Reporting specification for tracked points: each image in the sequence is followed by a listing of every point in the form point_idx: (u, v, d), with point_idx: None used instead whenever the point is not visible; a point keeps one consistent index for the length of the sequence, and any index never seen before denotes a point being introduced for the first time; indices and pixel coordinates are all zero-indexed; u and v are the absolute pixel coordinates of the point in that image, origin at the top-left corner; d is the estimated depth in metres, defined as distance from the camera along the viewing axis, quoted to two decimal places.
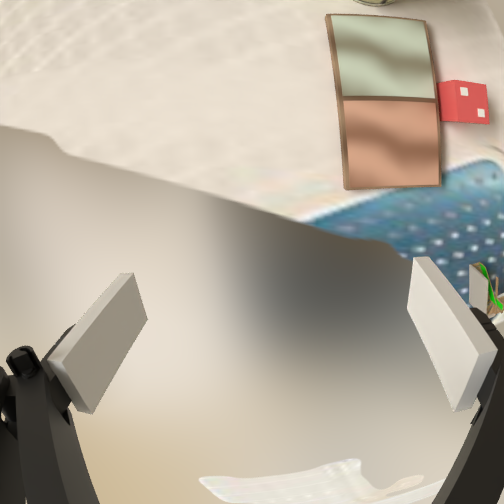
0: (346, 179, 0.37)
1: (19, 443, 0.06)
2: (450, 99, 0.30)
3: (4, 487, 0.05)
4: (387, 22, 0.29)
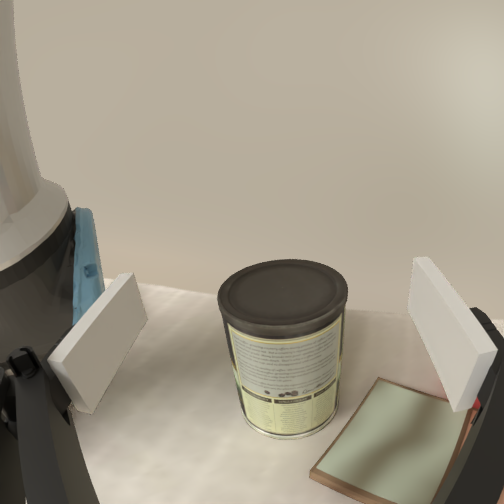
0: None
1: (19, 443, 0.06)
2: None
3: (4, 487, 0.05)
4: (362, 416, 0.26)
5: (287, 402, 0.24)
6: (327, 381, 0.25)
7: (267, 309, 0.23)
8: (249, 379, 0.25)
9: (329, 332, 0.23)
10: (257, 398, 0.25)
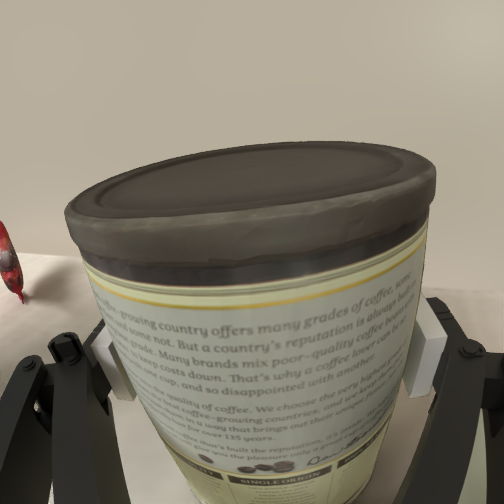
0: None
1: (53, 432, 0.06)
2: None
3: (28, 481, 0.06)
4: None
5: (264, 484, 0.08)
6: (376, 426, 0.08)
7: (185, 192, 0.07)
8: (157, 420, 0.08)
9: (405, 269, 0.06)
10: (189, 465, 0.09)
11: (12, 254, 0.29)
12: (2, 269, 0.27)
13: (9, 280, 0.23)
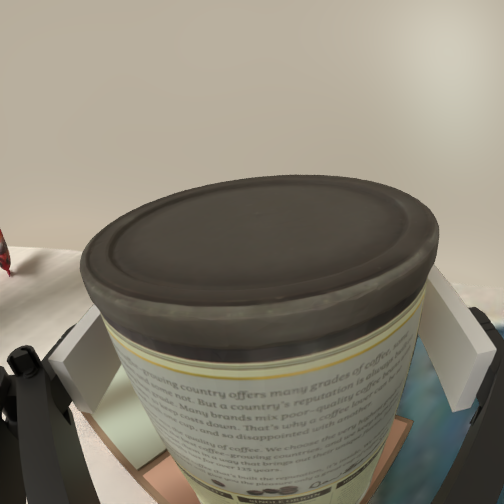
0: None
1: (20, 443, 0.06)
2: None
3: (4, 487, 0.05)
4: None
5: (270, 503, 0.08)
6: (372, 452, 0.09)
7: (199, 257, 0.07)
8: (173, 450, 0.09)
9: (403, 331, 0.06)
10: (201, 485, 0.09)
11: (3, 244, 0.46)
12: None
13: (0, 258, 0.39)
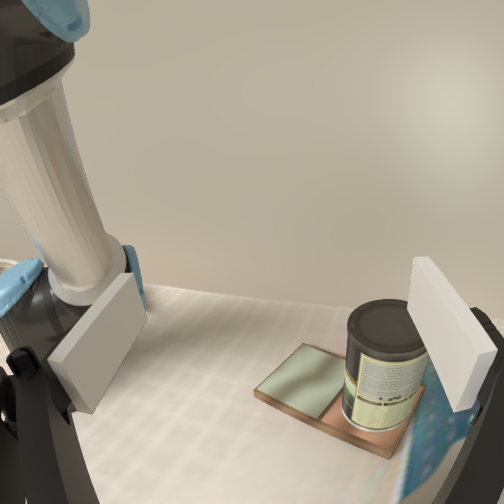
0: (383, 449, 0.32)
1: (19, 443, 0.06)
2: None
3: (4, 487, 0.05)
4: (288, 363, 0.49)
5: (392, 404, 0.31)
6: (417, 386, 0.32)
7: (389, 341, 0.30)
8: (368, 390, 0.32)
9: (427, 353, 0.30)
10: (370, 404, 0.32)
11: None
12: None
13: None
